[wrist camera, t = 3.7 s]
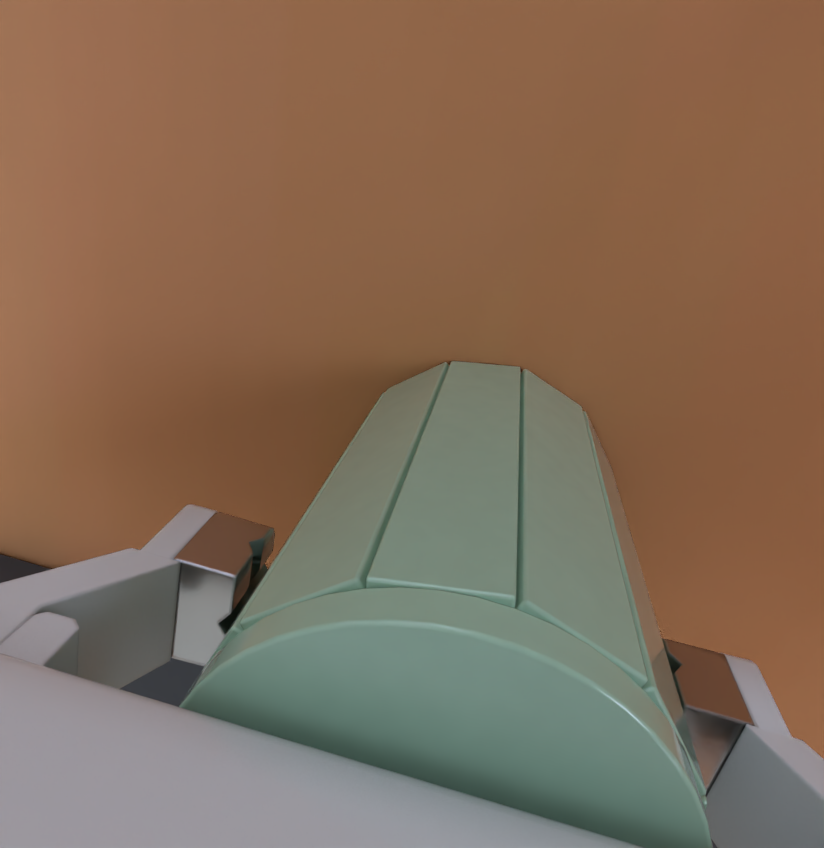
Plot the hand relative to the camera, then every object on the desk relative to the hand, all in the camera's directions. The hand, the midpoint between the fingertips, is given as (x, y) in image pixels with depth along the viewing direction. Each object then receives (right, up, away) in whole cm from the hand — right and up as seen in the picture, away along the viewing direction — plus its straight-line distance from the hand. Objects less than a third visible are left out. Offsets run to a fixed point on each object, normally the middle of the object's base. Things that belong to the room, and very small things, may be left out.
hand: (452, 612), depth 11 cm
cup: (+1, +2, +4) cm, 5 cm away
